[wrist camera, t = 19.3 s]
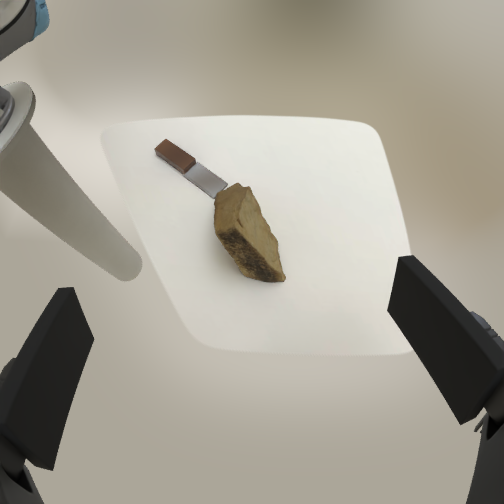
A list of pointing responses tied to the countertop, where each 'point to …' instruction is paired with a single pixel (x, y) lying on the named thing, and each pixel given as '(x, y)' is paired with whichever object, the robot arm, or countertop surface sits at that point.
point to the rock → (247, 234)
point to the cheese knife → (190, 168)
